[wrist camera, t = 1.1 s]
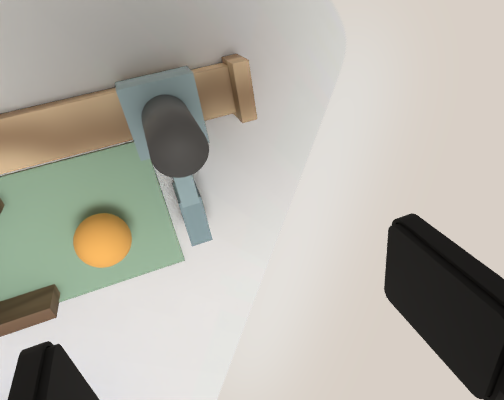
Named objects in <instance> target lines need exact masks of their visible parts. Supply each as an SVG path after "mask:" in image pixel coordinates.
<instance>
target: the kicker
mask: <svg viewBox="0 0 504 400" xmlns="http://www.w3.org/2000/svg"><path fill="white" fill-rule="evenodd" d="M115 84H116V92H117V95H118V98H119V101H120V104H121V107H122V109H123V112H124V115H125V118H126V121H127V123H128V126H129V129H130V132H131V135H132V138H133V140H134V143H135V146H136V149H137V152H138V154H139V157H140V160H141V161H143V160H147V159H151V161H152V163H153V165H154V166H155V168H156V169H157V170H158V171H159V172H161V173H162V174H164V175H166V176H169V177H173V179H174V182H175V183H172V184H173V187H174V190H175V194H176V197H177V200H178V203H179V206H180V210H181V213H182V216H183V219H184V222H185V226H186V229H187V232H188V235H189V238H190V241H191V245H192V246H195V245H198V244H201V243H204V242H207V241H210V240H212V236H211V232H210V229H209V225H208V221H207V218H206V214H205V210H204V206H203V203H202V199H201V196H200V194H199V191H198V189H197V187H196V184H195V182H194V180H193V176H192V174H194V173H196V172H197V171H198V170H200V169H201V168H202V166H203V165H204V164H205V162H206V160H207V157H208V153H209V145H208V143H209V139H208V134H207V130H206V126H205V122H204V117H203V113H202V109H201V104H200V100H199V96H198V91H197V87H196V83H195V78H194V74H193V72H192V71H191V70H190V69H189V68H188V67H187V66H184V67H180V68H176V69H171V70H167V71H163V72H158V73H154V74H150V75H145V76H141V77H136V78H132V79H128V80H123V81H119V82H115Z"/></svg>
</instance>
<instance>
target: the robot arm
mask: <svg viewBox="0 0 504 400" xmlns="http://www.w3.org/2000/svg"><path fill="white" fill-rule="evenodd" d="M384 290H385V293H386V296H387V298H388V300H389V301H390V302H391V303H392V304H393V305H394V307H395V308H396V309H397V310H398V311H399V312H400V313H401V314H402V315H403V317H404V318H405V319H406V320H407V321H408V322H409V323H410V325H411V326H412V327H413V328H414V329H415V330H416V331H417V332H418V334H419V335H420V336H421V337H422V338H423V339H424V340H425V341H426V343H427V344H428V345H429V346H430V347H431V348H432V349H433V350H434V351H435V353H436V354H437V355H438V356H439V357H440V358H441V359H442V360H443V361H444V363H445V364H446V365H447V366H448V367H449V368H450V369H451V370H452V372H453V373H454V374H455V375H456V376H457V377H458V378H459V380H460V381H461V382H462V383H463V384H464V385H465V386H466V387H467V388H468V390H469V391H470V392H471V393H472V394H473V395H474V396H475V397H477V398H479V399H484V400H504V279H503V278H502V277H500V276H499V275H498V274H496V273H495V272H493V271H492V270H491V269H489V268H488V267H487V266H485V265H484V264H482V263H481V262H480V261H478V260H477V259H475V258H474V257H473V256H472V255H470V254H469V253H468V252H466V251H465V250H464V249H462V248H461V247H459V246H458V245H457V244H456V243H454V242H453V241H451V240H450V239H449V238H447V237H446V236H445V235H443V234H442V233H441V232H439V231H438V230H437V229H435V228H434V227H432V226H431V225H430V224H428V223H427V222H426V221H424V220H423V219H422V218H420V217H419V216H418V215H416V214H409V215H406V216H403V217H400V218H397V219H395V220H394V221H393V222H392V226H390V227H389V230H388V243H387V258H386V272H385V286H384ZM8 400H99V399H98V397H97V396H96V394H95V393H94V392H93V390H92V389H91V387H90V386H89V384H88V383H87V382H86V380H85V379H84V377H83V376H82V375H81V373H80V372H79V370H78V369H77V367H76V366H75V365H74V363H73V362H72V360H71V359H70V358H69V356H68V355H67V353H66V352H65V350H64V349H63V348H62V346H61V345H60V344H56V345H53V344H52V343H51V342H49V341H47V342H44V343H41V344H38V345H36V346H33V347H30V348H27V349H24V350H22V351H21V352H20V355H19V358H18V362H17V366H16V370H15V373H14V377H13V381H12V385H11V389H10V393H9V397H8Z"/></svg>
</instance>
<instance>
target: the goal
mask: <svg viewBox="0 0 504 400" xmlns="http://www.w3.org/2000/svg"><path fill="white" fill-rule="evenodd" d="M4 206H5V205H4V203H3V201H2V200H1V198H0V214H1V212H2V210H3V208H4ZM59 299H60V292H59V290H58V288H57V287H56V285H55V284H53V285H50V286H47V287H43V288H40V289H37V290H34V291H31V292H28V293H25V294H22V295H19V296H16V297H13V298H10V299H6V300H3V301H0V337H1V336H4V335H7V334H10V333H13V332H16V331H19V330H22V329H24V328H27V327H30V326H33V325H36V324H39V323H42V322H45V321H48V320H51V319H54V318H56V317H57V311H58V305H59Z"/></svg>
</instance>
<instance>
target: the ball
mask: <svg viewBox="0 0 504 400" xmlns="http://www.w3.org/2000/svg"><path fill="white" fill-rule="evenodd" d="M131 243H132V235H131V231H130V229H129V227H128V225H127V224H126V223H125V222H124V221H123V220H122V219H121V218H119V217H118V216H115V215H113V214H108V213H99V214H95V215H92V216H90V217H88V218H86V219H85V220H83V221H82V222H81V223H80V224H79V226H78V227H77V229H76V231H75V234H74V237H73V246H74V250H75V252H76V254H77V256H78V257H79V258H80V259H81V260H82V261H83V262H84V263H86V264H88V265H90V266H93V267H97V268H105V267H110V266H113V265H115V264H117V263H119V262H120V261H121V260H123V259H124V258H125V256H126V255H127V254H128V252H129V250H130V247H131Z"/></svg>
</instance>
